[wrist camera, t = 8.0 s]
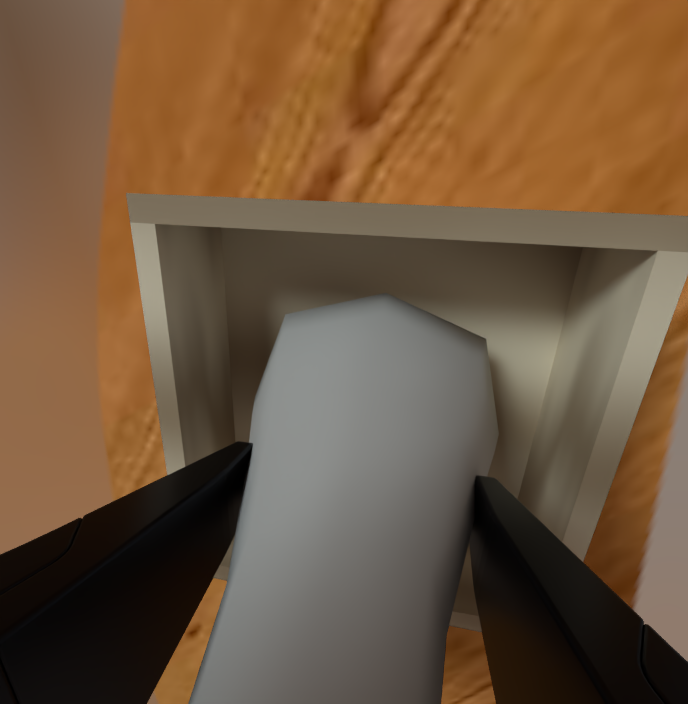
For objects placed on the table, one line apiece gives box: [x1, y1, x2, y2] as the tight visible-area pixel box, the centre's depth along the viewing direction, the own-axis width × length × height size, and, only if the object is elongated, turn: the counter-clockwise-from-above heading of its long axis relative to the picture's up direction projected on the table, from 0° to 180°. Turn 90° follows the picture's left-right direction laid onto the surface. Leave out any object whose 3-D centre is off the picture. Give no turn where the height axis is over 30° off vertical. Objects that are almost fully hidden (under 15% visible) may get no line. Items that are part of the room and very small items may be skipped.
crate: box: [126, 193, 688, 632], centre depth 11 cm, size 11×11×4 cm
